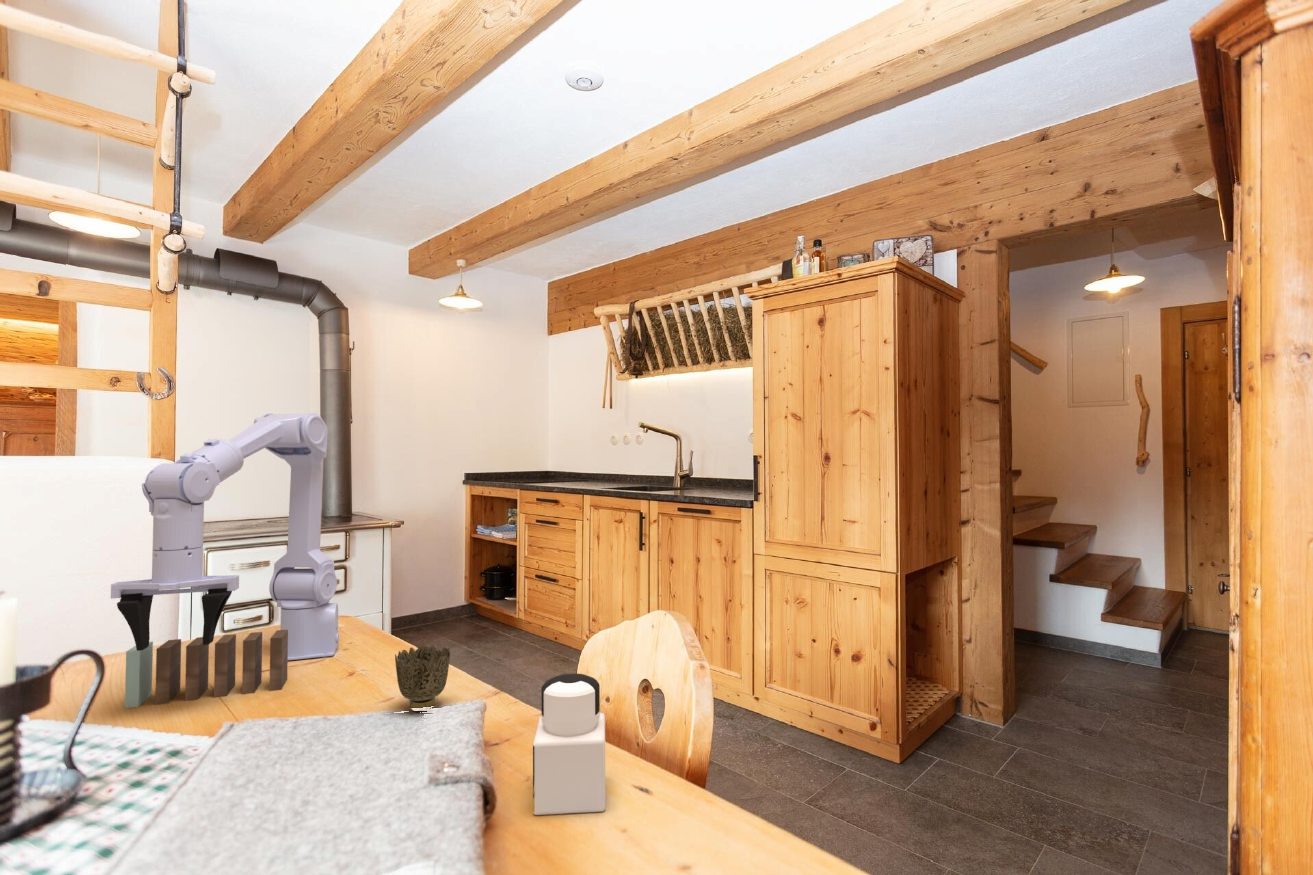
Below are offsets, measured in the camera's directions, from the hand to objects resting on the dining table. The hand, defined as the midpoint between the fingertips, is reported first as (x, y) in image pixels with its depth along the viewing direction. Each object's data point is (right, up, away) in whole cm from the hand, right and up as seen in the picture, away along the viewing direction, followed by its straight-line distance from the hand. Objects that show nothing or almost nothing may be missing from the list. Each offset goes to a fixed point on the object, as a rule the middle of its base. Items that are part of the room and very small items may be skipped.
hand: (175, 645), depth 89 cm
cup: (+34, -9, +1) cm, 36 cm away
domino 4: (+1, -10, +8) cm, 13 cm away
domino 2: (-6, -10, +6) cm, 13 cm away
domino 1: (-9, -10, +5) cm, 14 cm away
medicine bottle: (+58, -8, -23) cm, 63 cm away
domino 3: (-2, -10, +7) cm, 12 cm away
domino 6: (+8, -10, +11) cm, 17 cm away
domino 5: (+4, -10, +10) cm, 15 cm away
